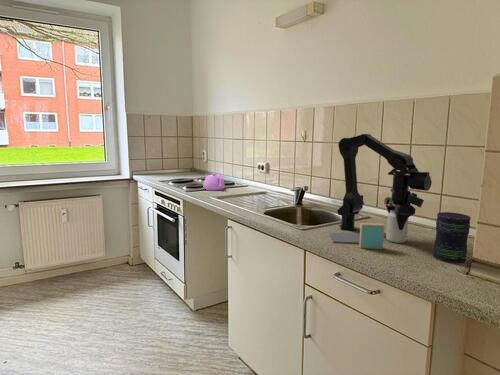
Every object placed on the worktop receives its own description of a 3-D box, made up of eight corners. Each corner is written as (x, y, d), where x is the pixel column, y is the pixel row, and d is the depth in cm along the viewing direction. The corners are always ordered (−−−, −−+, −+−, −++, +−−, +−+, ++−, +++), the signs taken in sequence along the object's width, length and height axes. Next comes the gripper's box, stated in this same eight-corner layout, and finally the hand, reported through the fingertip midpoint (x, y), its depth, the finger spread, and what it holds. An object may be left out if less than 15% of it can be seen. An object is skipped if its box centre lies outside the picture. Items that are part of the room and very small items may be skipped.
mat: (329, 233, 147) (329, 232, 146) (359, 235, 145) (359, 233, 145) (333, 242, 135) (333, 241, 135) (365, 244, 134) (365, 242, 134)
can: (405, 239, 141) (407, 209, 139) (407, 244, 134) (410, 213, 132) (385, 237, 143) (387, 208, 141) (386, 242, 136) (389, 212, 134)
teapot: (231, 190, 252) (231, 173, 250) (213, 192, 242) (213, 175, 240) (214, 186, 269) (214, 170, 267) (196, 188, 259) (196, 172, 257)
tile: (359, 246, 131) (360, 222, 130) (381, 247, 130) (383, 223, 129) (360, 248, 129) (361, 224, 127) (383, 249, 128) (384, 225, 126)
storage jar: (436, 251, 126) (440, 210, 124) (468, 257, 120) (473, 215, 118) (429, 259, 119) (433, 215, 116) (463, 266, 113) (468, 220, 110)
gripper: (432, 192, 125) (428, 234, 127) (413, 184, 143) (410, 221, 146) (399, 191, 126) (396, 233, 129) (385, 183, 144) (382, 220, 147)
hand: (397, 226), depth 137 cm, fingers open, 9 cm apart
